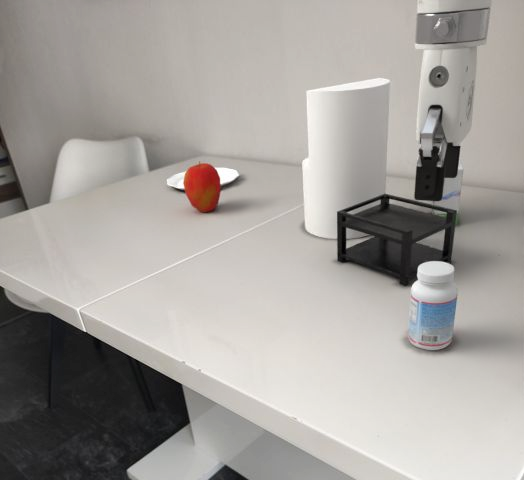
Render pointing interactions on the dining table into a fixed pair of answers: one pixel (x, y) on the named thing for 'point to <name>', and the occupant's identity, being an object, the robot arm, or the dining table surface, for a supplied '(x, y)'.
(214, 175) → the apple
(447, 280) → the pill bottle
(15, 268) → the dining table surface
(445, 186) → the ink box
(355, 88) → the cylinder
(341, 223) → the rack
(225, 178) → the plate
